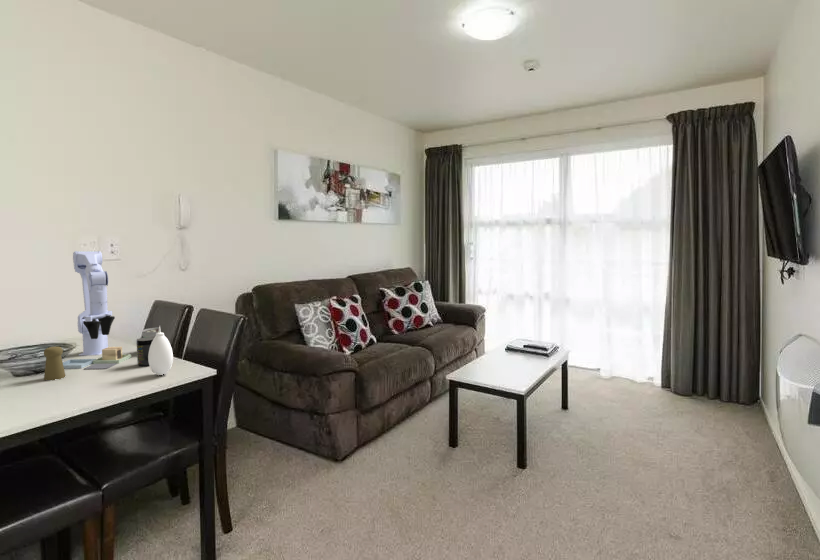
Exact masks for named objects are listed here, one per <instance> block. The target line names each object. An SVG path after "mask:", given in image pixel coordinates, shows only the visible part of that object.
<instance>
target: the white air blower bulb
mask: <svg viewBox="0 0 820 560" xmlns="http://www.w3.org/2000/svg"><path fill="white" fill-rule="evenodd" d="M173 352H174V351H173V348H172V346H171V342H170V340H169V339H168V338H167V337H166V336H165V333H164V332H162V331H161V325H159V333H156V336H155V338H154V339H153V341H152V343H151V346H150V349H149V354H148V362H149V366H148V367H149V368H150V370H151V372H152V373H154V374H155V375H157V376H159V375H162V376H164V375H167V373H168V372H170V371H171V368H172V366H173V364H174V363H173V362H174V354H173ZM163 374H164V375H163Z"/></svg>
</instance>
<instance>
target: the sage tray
mask: <svg viewBox="0 0 820 560" xmlns="http://www.w3.org/2000/svg"><path fill="white" fill-rule="evenodd" d="M122 356H123V358H121V359H119V360H102V356H101V357H99V358H95V359H96V360H94V361H93V364H110V363H117V364H121V363H123V362H125V361H127V360H128V359H131V358H132V354H131V353H130V354H122ZM93 364H92V365H93Z"/></svg>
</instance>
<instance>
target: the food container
mask: <svg viewBox="0 0 820 560" xmlns="http://www.w3.org/2000/svg"><path fill="white" fill-rule="evenodd" d="M156 333H159V327H151V328H145V329H143V330H142V333H141V337H142V338H146V337H155V336H156Z"/></svg>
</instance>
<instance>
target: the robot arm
mask: <svg viewBox="0 0 820 560" xmlns="http://www.w3.org/2000/svg"><path fill="white" fill-rule="evenodd" d="M72 261H73V269H74V272H75V273H77V274H79V275H80V278H81V284H82V293H83V294H82V295H83V303H84V311H82V312H80V313H79V314H78V316H77V331H78V333H79V334H82V350H83V351H82V352H81V353H79V354H78V356H80V357H81V356H83V357H84V356H100V355H102V349H105V348H107V347H109V338H108V336H109V335H110V331H111V327H112V324H113V322H114V320H115V316H114V315H113V310H108V308H109V307H108V287H107V286H108V285H109V275H108V272H107V271H106V270H105V271H104V269H103V267H102V266H103V253H102V251H100V250H97V251H96V250H95V251H93V250H92V251H88V250H87V251H84V250H83V251H79V250H74V251H73V252H72Z"/></svg>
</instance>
